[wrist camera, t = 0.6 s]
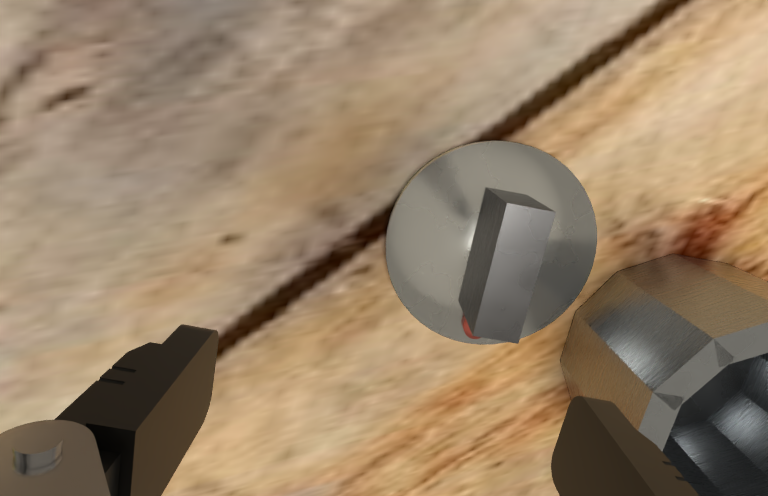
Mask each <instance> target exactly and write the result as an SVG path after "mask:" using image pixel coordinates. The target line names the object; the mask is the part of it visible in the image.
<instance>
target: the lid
mask: <svg viewBox="0 0 768 496" xmlns="http://www.w3.org/2000/svg"><path fill="white" fill-rule="evenodd" d="M596 245H597V227H596V220H595V214H594V211H593V208H592V205H591V202H590V200H589V197H588V195H587V193H586V191H585V189H584V188H583V186H582V185H581V183H580V182H579V180H578V179H577V178H576V177H575V175H574V174H573V173H572V172H571V171H570V170H569V169H568V168H567V167H566V166H565V165H563V164H562V163H561V162H560V161H558V160H557V159H556V158H554V157H552V156H551V155H549V154H547V153H546V152H543V151H541V150H539V149H536V148H534V147H531V146H527V145H523V144H520V143H516V142H509V141H501V140H490V141H479V142H473V143H469V144H465V145H462V146H458V147H456V148H453V149H451V150H449V151H446V152H444V153H443V154H441V155H439V156H438V157H436V158H434V159H433V160H431V161H430V162H429V163H427V164H426V165H425V166H424V167H422V168H421V169H420V170H419V171H418V172H417V173H416V174H415V175H414V176H413V177H412V178H411V179H410V181H409V182H408V183H407V185H406V186H405V187H404V189H403V190H402V192H401V193H400V195H399V197H398V199H397V200H396V202H395V205H394V207H393V210H392V212H391V215H390V219H389V222H388V226H387V234H386V260H387V267H388V272H389V275H390V278H391V282H392V284H393V287H394V289H395V291H396V293H397V295H398V297H399V298H400V300H401V301H402V303H403V305H404V306H405V307H406V308H407V309H408V311H409V312H410V313H411V314H412V315H413V316H414V317H415V318H416V319H417V320H418V321H420V322H421V323H422V324H423V325H425V326H426V327H428V328H429V329H431V330H432V331H434V332H436V333H438V334H440V335H442V336H444V337H447V338H450V339H453V340H456V341H460V342H465V343H471V344H498V343H505V342H512V343H518V342H519V339H520V338H523V337H526V336H528V335H531V334H533V333H535V332H537V331H539V330H540V329H542V328H544V327H545V326H547V325H548V324H550V323H551V322H553V321H554V320H555V319H557V318H558V317H559V316H560V315H561V314H562V313H563V312H565V310H566V309H567V308H568V307H569V306H570V305H571V304H572V303H573V302H574V300H575V299H576V297H577V296H578V295H579V293H580V292H581V290H582V288H583V286H584V285H585V283H586V281H587V279H588V276H589V274H590V271H591V269H592V266H593V262H594V258H595V254H596Z"/></svg>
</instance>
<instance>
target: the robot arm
mask: <svg viewBox="0 0 768 496" xmlns="http://www.w3.org/2000/svg"><path fill="white" fill-rule="evenodd" d="M217 348H218V332H217V330H211V329H206V328H200V327H194V326H189V325H180V326H179V327H178V328H177V329H176V330H175V331H174V332H173V333H172V334H171V335H170V336H169V337H168V338H167V339H166V341H165V342H164V343H163V344H157V343H151V342H150V343H147V344H145V345H143V346H141V347H138V348H136V349H134V350H131V351H129V352H127V353H126V354H125V355H124V356H123V357H122V358H121V359H120V360H118V361H117V362H116V363H115V364H114V365H113V366H112V369H109V370H108V371H106V372H105V373H104V374H103V375H102V376H101V377H100V380H99V381H96V382H95V383H93V384H92V385H91V386H90V387H89V388H88V389H87V390H86V391H85V392H84V393H83V394H82V395H80V396H79V397H78V398H77V399H76V400H75V401H74V402H73V403H72V404H71V405H70V406H69V407H67V408H66V409H65V410H64V411H63V412H62V413H61V414H60V415H59V416H58V417H57V418H56V419H54V420H44V421H37V422H32V423H27V424H24V425H20V426H17V427H14V428H12V429H10V430H7V431H5V432H3V433H1V434H0V496H161V495H162V493H163V491H164V490H165V488H166V486H167V485H168V483H169V481H170V479H171V478H172V476H173V474H174V473H175V471H176V469H177V467H178V466H179V464H180V462H181V460H182V459H183V457H184V455H185V454H186V452H187V450H188V448H189V447H190V445H191V443H192V442H193V440H194V438H195V436H196V435H197V433H198V431H199V429H200V428H201V426H202V424H203V422H204V420H205V417H206V415H207V412H208V409H209V405H210V401H211V396H212V388H213V380H214V372H215V364H216V356H217ZM551 470H552V478H553V482H554V484H555V487H556V489H557V491H558V493H559V495H560V496H699V495H698V493H697V492H696V491H695V490H694V489H693V487H692V486H691V485H690V484H689V483H688V482H686V481H684V477H683V476H682V475H681V473H680V472H679V471H678V470H677V469H676V468H675V466H671V462H670V460H669V459H668V458H667V457H666V456H665V455H664V453H663V452H662V451H661V450H660V449H659V448H658V446H657V445H656V444H655V443H653V442H652V441H651V440H649V439H648V438H647V437H645V436H644V435H643V434H641V433H640V432H639V431H638V430H636V429H635V428H634V427H633V425H632V424H631V423H630V422H629V421H628V419H627V418H626V417H625V416H624V415H623V413H622V412H621V411H620V410H619V409H618V407H617V406H616V405H615V404H614V403H613V402H611V401H606V400H601V399H595V398H589V397H584V396H576V397H574V398H573V399H572V401H571V403H570V405H569V407H568V410H567V413H566V416H565V419H564V422H563V425H562V428H561V431H560V434H559V437H558V440H557V443H556V446H555V449H554V452H553V456H552V463H551Z"/></svg>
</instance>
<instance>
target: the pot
mask: <svg viewBox="0 0 768 496" xmlns="http://www.w3.org/2000/svg"><path fill="white" fill-rule="evenodd" d="M560 362H561V365H562V369H563V372H564V376H565V379H566V383H567V386H568V390H569V394H570V397H571V401H572V399H573V398H574V397H576V396H584V397H589V398H595V399H601V400H606V401H611V402H613V403H614V404H615V405H616V406H617V407H618V409H619V410H620V411H621V412H622V413H623V415H624V416H625V417H626V418H627V419H628V421H629V422H630V423H631V424H632V425H633V427H634V428H635V429H636V430H638V431H639V432H640V433H641V434H643V435H644V436H645V437H647V438H648V439H649V440H651V441H652V442H653V443H655V444H656V445H657V446H658V448H659V449H660V450H661V451H662V452H663V453H664V455H665V456H666V457H667V458H668V459H669V460H670V462H671V466H675V468H676V469H677V470H678V471H679V472H680V473H681V475H682V476H683V477H684V481H686V482H688V483H689V484H690V485H691V486H692V487H693V489H694V490H695V491H696V492H697V493H698V495H699V496H768V281H765V280H763V279H761V278H759V277H756V276H754V275H752V274H750V273H747V272H745V271H743V270H741V269H738V268H736V267H734V266H732V265H729V264H727V263H722V262H717V261H711V260H705V259H700V258H694V257H689V256H683V255H678V254H670V255H667V256H664V257H661V258H658V259H655V260H652V261H649V262H646V263H643V264H640V265H637V266H633V267H630V268H627V269H624V270H621V271H618V272H616V273H615V274H614V275H613V276H612V277H611V278H610V279H609V280H608V281H607V282H606V283H605V284H604V285H603V286H602V287H601V288H600V289H599V290H598V291H597V292H596V293H595V294H593V295H592V296H591V297H590V298H589V299H588V300H587V301H586V302H585V303H584V304H583V305H582V306H581V307H580V308H579V309H578V310H577V311H576V312H575V315H574V318H573V322H572V325H571V328H570V331H569V334H568V337H567V340H566V344H565V347H564V350H563V353H562V356H561V359H560Z"/></svg>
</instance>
